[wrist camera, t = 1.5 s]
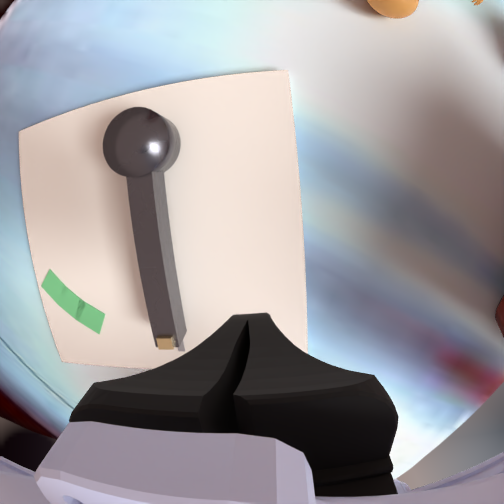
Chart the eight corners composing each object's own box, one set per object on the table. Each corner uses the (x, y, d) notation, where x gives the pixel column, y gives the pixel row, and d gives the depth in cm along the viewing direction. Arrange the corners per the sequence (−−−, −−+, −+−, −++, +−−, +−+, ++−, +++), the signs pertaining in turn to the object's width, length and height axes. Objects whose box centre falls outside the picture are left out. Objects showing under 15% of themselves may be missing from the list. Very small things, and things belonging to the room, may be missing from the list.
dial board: (306, 356, 22) (307, 364, 21) (67, 356, 24) (61, 362, 23) (286, 74, 18) (288, 69, 17) (26, 132, 19) (18, 131, 18)
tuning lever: (121, 122, 18) (101, 115, 15) (178, 110, 18) (165, 100, 15) (150, 330, 21) (137, 349, 18) (204, 329, 21) (196, 350, 18)
